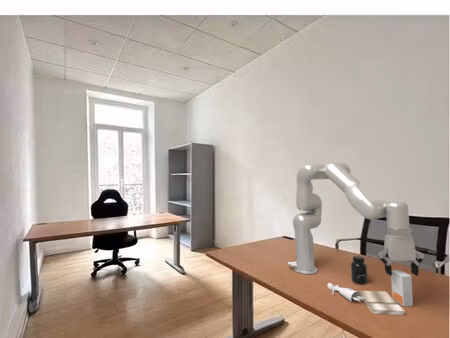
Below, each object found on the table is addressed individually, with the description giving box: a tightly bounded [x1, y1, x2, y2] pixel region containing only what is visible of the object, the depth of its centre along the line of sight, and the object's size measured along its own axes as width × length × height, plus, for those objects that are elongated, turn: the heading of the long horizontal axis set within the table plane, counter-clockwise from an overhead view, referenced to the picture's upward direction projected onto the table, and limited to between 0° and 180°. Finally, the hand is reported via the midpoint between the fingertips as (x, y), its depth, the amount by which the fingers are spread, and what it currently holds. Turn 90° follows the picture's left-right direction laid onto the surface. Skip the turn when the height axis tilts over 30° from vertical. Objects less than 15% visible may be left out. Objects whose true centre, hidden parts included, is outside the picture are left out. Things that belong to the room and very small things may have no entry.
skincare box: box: [390, 269, 414, 307], centre depth 99 cm, size 6×4×12 cm
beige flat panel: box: [357, 290, 397, 306], centre depth 101 cm, size 11×8×1 cm
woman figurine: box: [327, 282, 364, 303], centre depth 107 cm, size 12×4×18 cm
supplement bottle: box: [350, 255, 368, 286], centre depth 119 cm, size 7×7×12 cm
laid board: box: [367, 303, 406, 316], centre depth 93 cm, size 11×5×2 cm, turn 82°
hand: (401, 274), depth 99 cm, fingers open, 9 cm apart
